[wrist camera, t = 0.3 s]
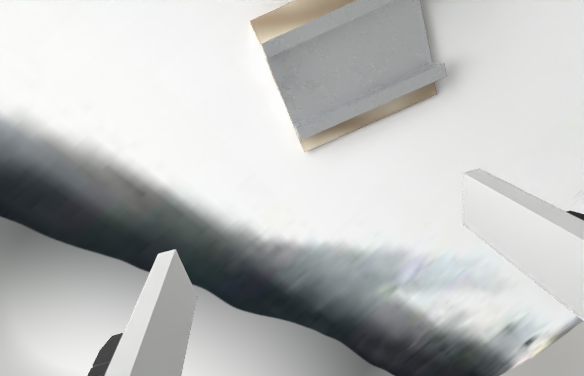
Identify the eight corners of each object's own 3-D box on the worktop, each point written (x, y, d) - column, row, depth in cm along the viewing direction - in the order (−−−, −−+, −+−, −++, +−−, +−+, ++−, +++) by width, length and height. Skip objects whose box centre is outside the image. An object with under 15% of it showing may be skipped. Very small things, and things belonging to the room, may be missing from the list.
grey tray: (260, 44, 35) (261, 43, 32) (412, -25, 34) (426, -32, 31) (297, 134, 39) (301, 140, 37) (432, 74, 39) (446, 76, 36)
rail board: (250, 21, 35) (250, 20, 34) (402, -49, 34) (406, -52, 33) (303, 149, 41) (304, 152, 40) (432, 93, 40) (436, 94, 40)
